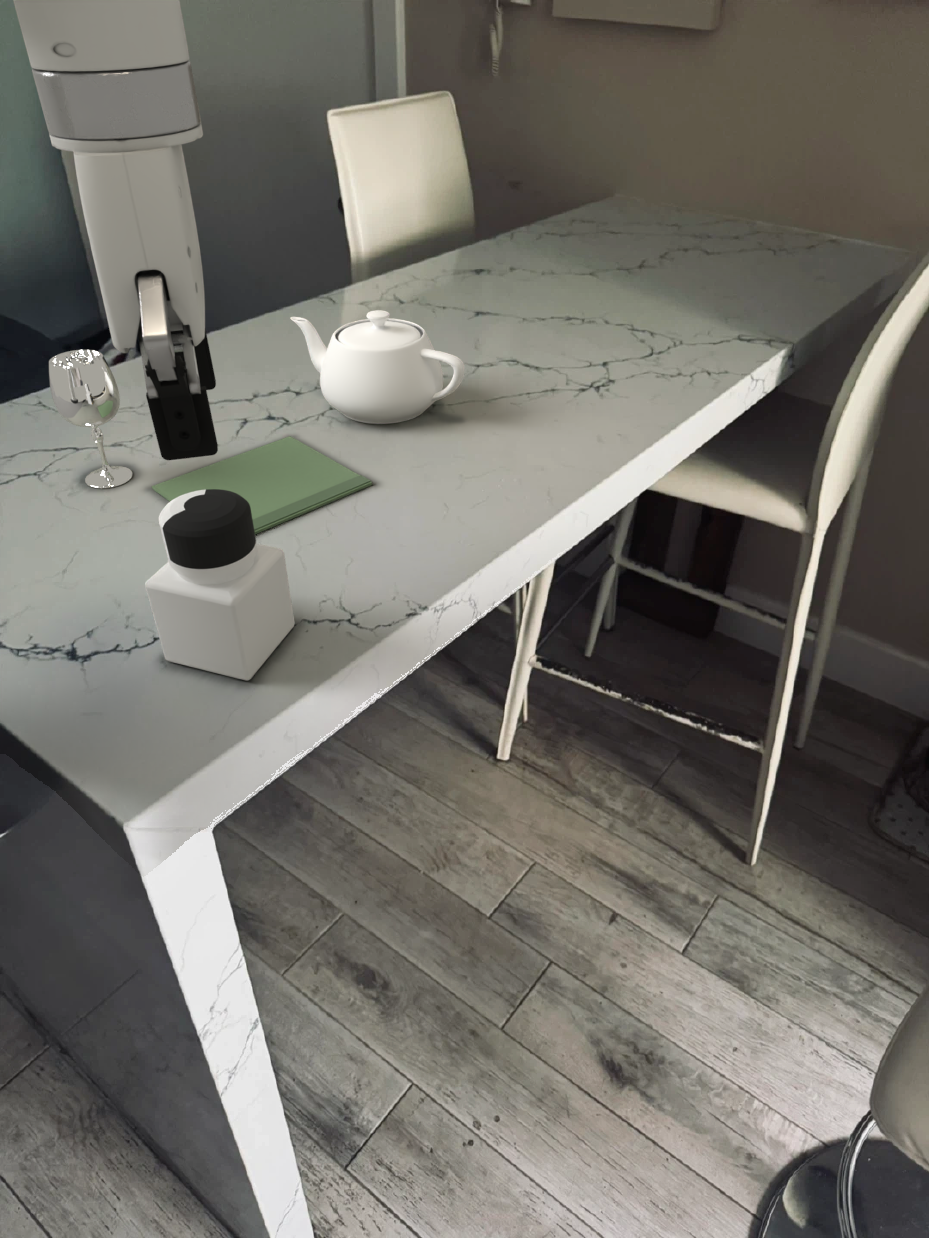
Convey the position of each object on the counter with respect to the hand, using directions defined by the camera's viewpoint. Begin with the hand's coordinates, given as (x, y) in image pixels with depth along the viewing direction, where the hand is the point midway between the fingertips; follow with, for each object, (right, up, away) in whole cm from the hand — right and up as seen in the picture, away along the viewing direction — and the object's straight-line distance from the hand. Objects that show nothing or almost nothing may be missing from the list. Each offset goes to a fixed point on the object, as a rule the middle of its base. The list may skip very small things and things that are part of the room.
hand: (191, 420), depth 55 cm
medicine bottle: (0, -14, +11) cm, 18 cm away
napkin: (-2, 0, +30) cm, 30 cm away
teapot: (+7, +12, +45) cm, 47 cm away
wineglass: (-18, +1, +31) cm, 36 cm away
